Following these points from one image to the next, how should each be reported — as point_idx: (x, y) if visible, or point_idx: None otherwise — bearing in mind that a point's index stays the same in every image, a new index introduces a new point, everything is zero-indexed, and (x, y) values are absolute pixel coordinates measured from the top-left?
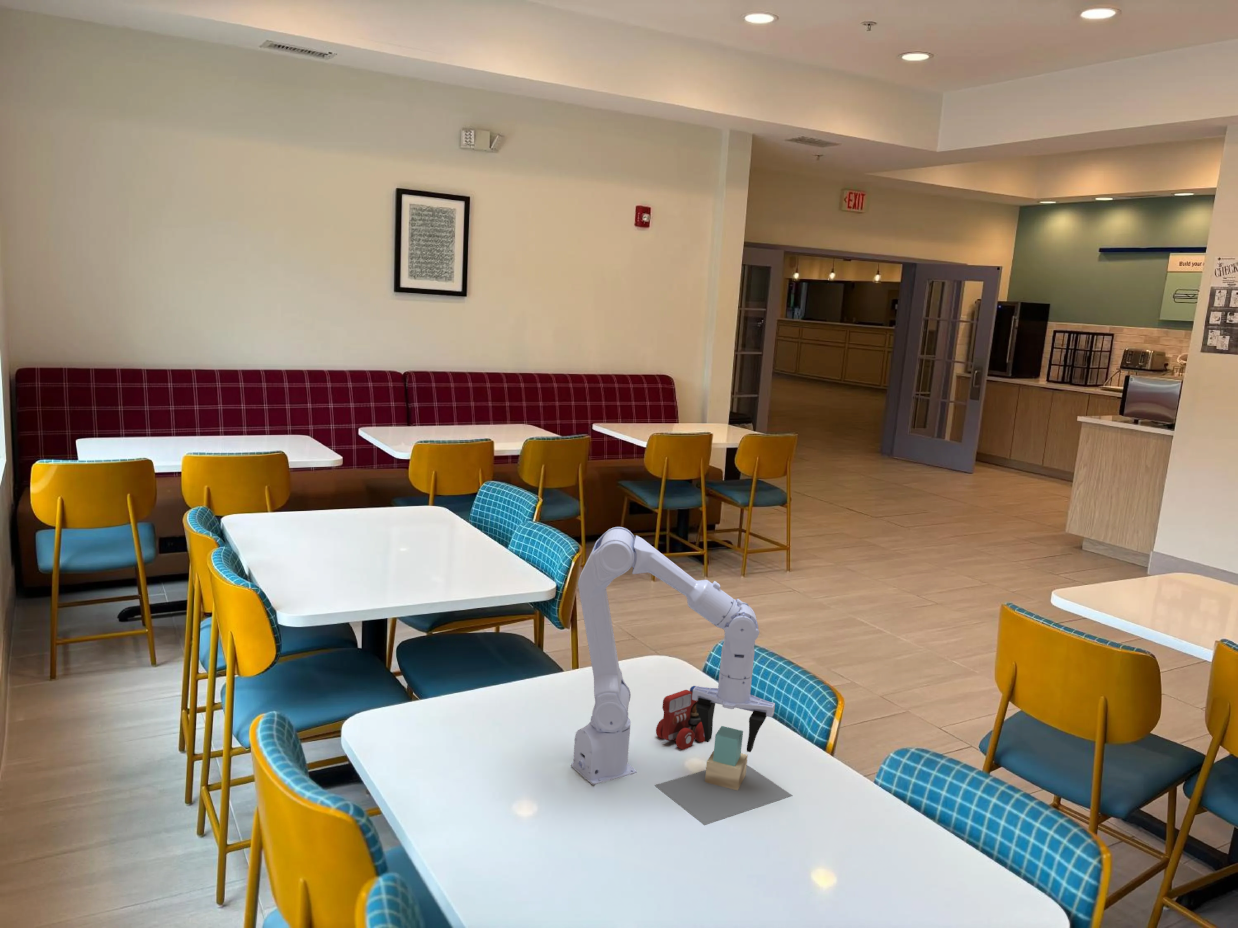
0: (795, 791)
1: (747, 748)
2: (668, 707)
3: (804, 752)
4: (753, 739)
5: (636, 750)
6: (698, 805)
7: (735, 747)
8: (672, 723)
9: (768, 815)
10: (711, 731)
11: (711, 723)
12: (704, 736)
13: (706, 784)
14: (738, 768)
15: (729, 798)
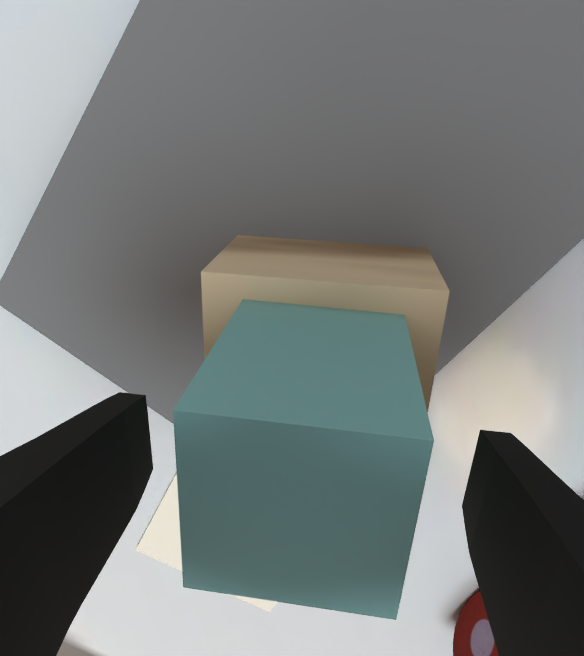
0: (10, 351)
1: (126, 403)
2: None
3: (89, 619)
4: (12, 450)
5: None
6: None
7: (212, 366)
8: None
9: (27, 60)
10: (479, 544)
11: (509, 619)
12: (484, 620)
13: (414, 225)
14: (212, 280)
15: (258, 124)
